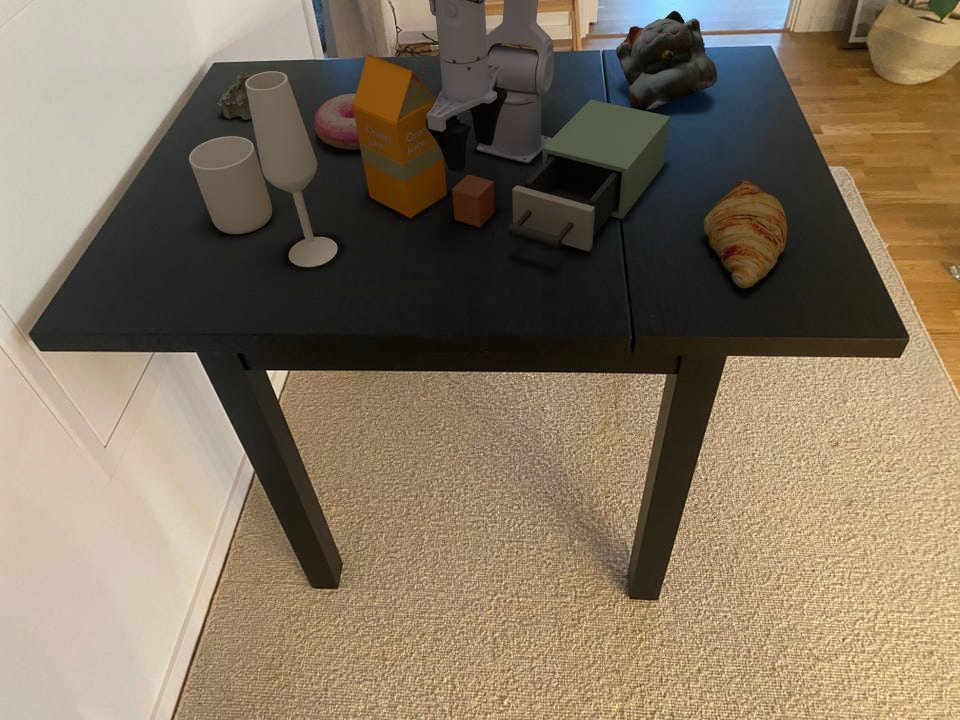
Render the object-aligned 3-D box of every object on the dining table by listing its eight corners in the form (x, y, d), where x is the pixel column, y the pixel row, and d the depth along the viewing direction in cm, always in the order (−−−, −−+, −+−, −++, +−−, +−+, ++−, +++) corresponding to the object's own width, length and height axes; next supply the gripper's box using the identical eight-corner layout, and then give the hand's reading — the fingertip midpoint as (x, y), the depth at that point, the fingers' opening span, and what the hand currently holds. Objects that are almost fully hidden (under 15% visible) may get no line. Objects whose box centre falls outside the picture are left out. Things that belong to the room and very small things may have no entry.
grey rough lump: (248, 91, 135) (242, 69, 132) (284, 95, 133) (278, 73, 130) (216, 118, 128) (208, 95, 125) (253, 123, 126) (246, 100, 123)
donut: (377, 161, 115) (372, 131, 111) (302, 151, 118) (295, 122, 115) (410, 120, 124) (406, 91, 120) (339, 111, 127) (333, 84, 124)
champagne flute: (344, 239, 101) (305, 68, 84) (327, 269, 96) (281, 96, 79) (299, 234, 102) (252, 66, 85) (280, 264, 98) (225, 92, 81)
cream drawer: (571, 273, 92) (573, 232, 87) (494, 248, 96) (492, 209, 92) (632, 195, 103) (636, 156, 98) (560, 176, 107) (561, 138, 103)
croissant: (761, 319, 90) (809, 278, 84) (693, 283, 88) (737, 239, 82) (755, 217, 104) (796, 176, 98) (696, 184, 102) (734, 140, 96)
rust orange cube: (454, 219, 103) (451, 189, 99) (470, 204, 105) (467, 174, 102) (480, 227, 101) (478, 196, 97) (495, 212, 103) (493, 181, 100)
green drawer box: (622, 219, 100) (627, 168, 95) (542, 197, 105) (542, 147, 100) (663, 165, 109) (670, 116, 104) (587, 147, 114) (590, 99, 109)
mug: (287, 189, 111) (269, 123, 103) (263, 236, 102) (241, 169, 95) (233, 188, 112) (210, 123, 104) (205, 236, 103) (178, 169, 96)
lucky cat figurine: (627, 117, 120) (608, 28, 115) (629, 112, 131) (613, 30, 126) (722, 91, 115) (706, -3, 111) (716, 88, 126) (702, 2, 122)
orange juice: (409, 218, 103) (389, 82, 89) (368, 197, 108) (343, 63, 94) (448, 194, 107) (434, 59, 93) (407, 174, 112) (388, 42, 97)
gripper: (459, 85, 81) (467, 191, 91) (522, 35, 89) (523, 137, 99) (407, 74, 84) (420, 177, 93) (473, 26, 92) (479, 126, 102)
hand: (470, 156), depth 96 cm, fingers open, 7 cm apart
